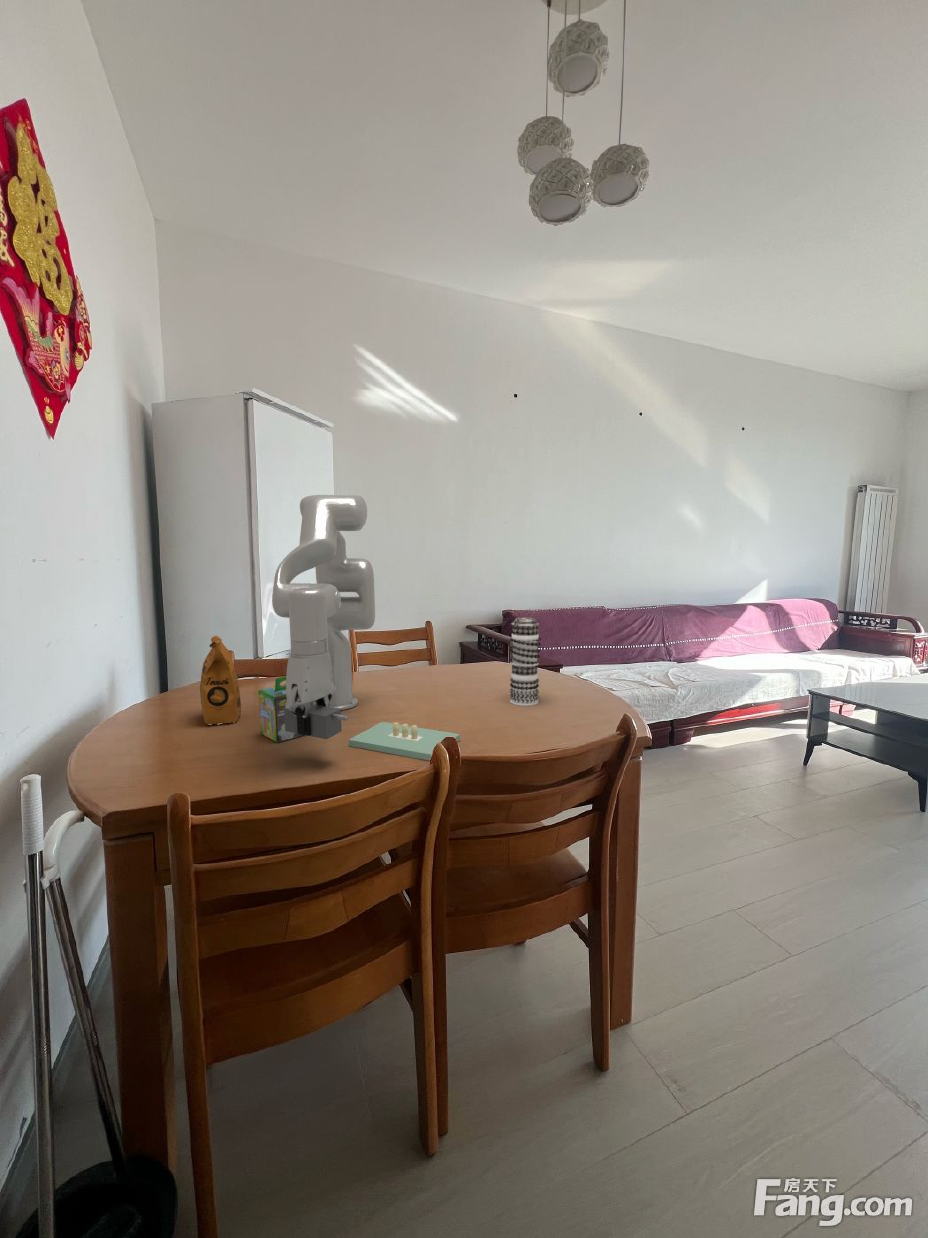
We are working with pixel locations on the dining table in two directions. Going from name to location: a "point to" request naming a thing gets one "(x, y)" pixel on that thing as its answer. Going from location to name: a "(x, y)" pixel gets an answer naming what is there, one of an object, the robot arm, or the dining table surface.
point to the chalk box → (274, 712)
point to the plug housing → (318, 721)
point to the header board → (401, 740)
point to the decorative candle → (524, 662)
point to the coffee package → (219, 686)
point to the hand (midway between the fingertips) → (313, 729)
